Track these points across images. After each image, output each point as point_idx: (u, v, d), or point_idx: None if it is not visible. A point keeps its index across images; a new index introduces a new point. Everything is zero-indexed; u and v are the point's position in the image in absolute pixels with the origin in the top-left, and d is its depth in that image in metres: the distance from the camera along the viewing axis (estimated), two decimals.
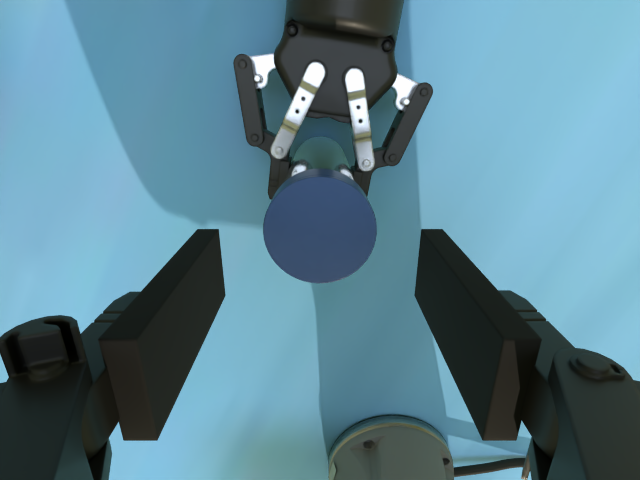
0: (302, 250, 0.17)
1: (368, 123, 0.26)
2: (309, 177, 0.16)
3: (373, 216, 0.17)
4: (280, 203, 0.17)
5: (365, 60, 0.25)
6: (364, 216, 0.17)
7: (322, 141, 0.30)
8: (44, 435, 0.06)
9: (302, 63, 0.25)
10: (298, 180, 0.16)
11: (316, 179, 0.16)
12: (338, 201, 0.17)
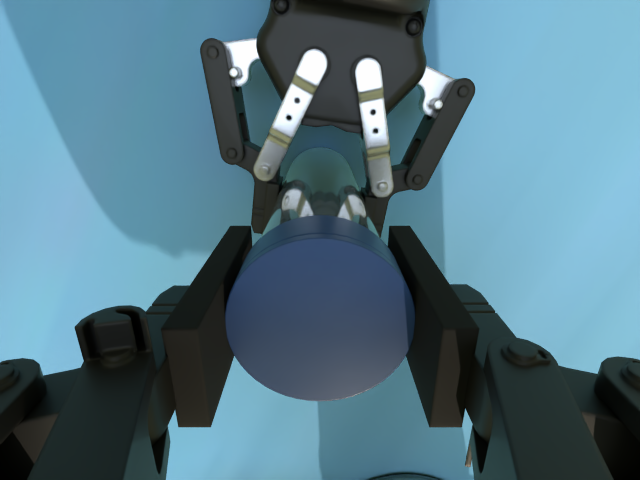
0: (291, 353, 0.10)
1: (386, 134, 0.19)
2: (302, 239, 0.09)
3: (411, 302, 0.10)
4: (252, 281, 0.10)
5: (383, 47, 0.18)
6: (396, 301, 0.10)
7: (323, 155, 0.23)
8: (116, 420, 0.06)
9: (295, 51, 0.18)
10: (282, 243, 0.09)
11: (314, 243, 0.09)
12: (352, 278, 0.10)
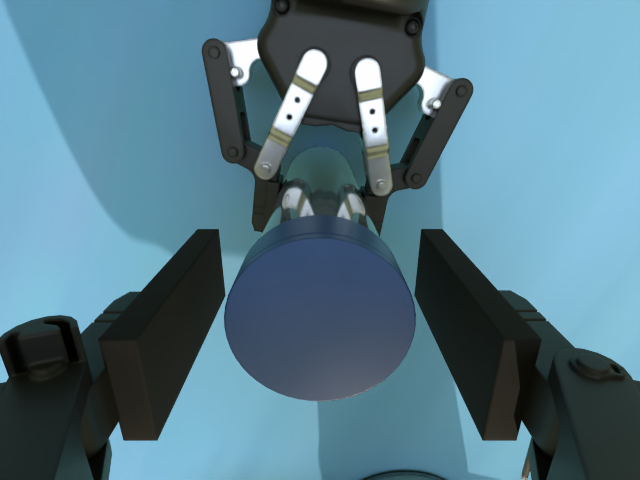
0: (343, 357, 0.11)
1: (385, 133, 0.19)
2: (225, 320, 0.10)
3: (311, 240, 0.09)
4: (257, 368, 0.11)
5: (382, 47, 0.18)
6: (308, 254, 0.09)
7: (323, 154, 0.23)
8: (44, 435, 0.06)
9: (296, 51, 0.18)
10: (227, 335, 0.10)
11: (228, 313, 0.10)
12: (271, 290, 0.10)
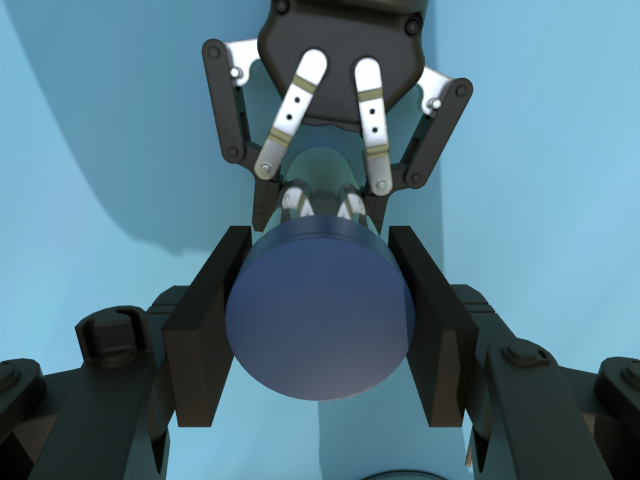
0: (343, 357, 0.11)
1: (385, 133, 0.19)
2: (225, 320, 0.10)
3: (311, 240, 0.09)
4: (258, 368, 0.11)
5: (382, 47, 0.18)
6: (308, 254, 0.09)
7: (323, 154, 0.23)
8: (116, 420, 0.06)
9: (296, 51, 0.18)
10: (228, 335, 0.10)
11: (228, 313, 0.10)
12: (271, 289, 0.10)
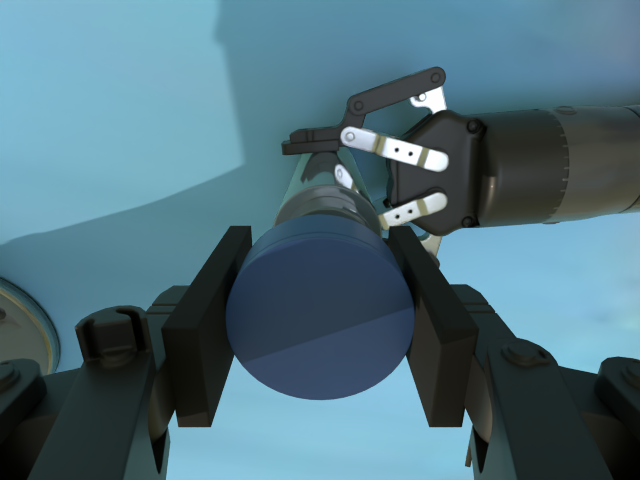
0: (343, 356, 0.11)
1: (396, 224, 0.25)
2: None
3: (311, 240, 0.09)
4: (258, 367, 0.11)
5: (452, 205, 0.25)
6: (308, 254, 0.09)
7: None
8: (116, 420, 0.06)
9: (443, 144, 0.24)
10: (228, 335, 0.10)
11: (229, 313, 0.10)
12: (272, 289, 0.10)
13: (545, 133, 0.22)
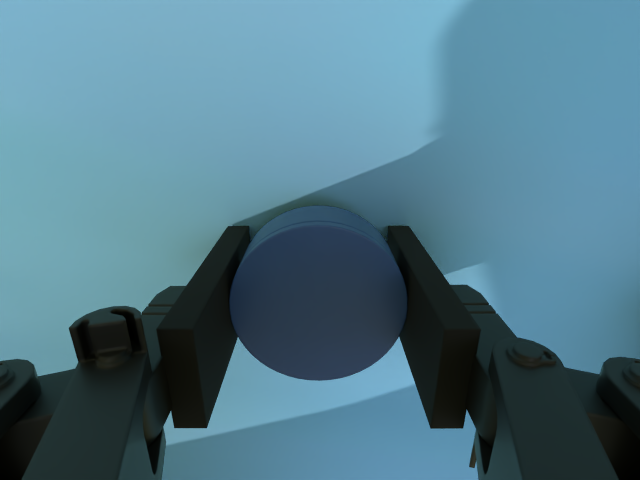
0: (340, 338, 0.11)
1: None
2: (229, 304, 0.11)
3: (310, 228, 0.10)
4: (260, 349, 0.11)
5: None
6: (307, 241, 0.10)
7: None
8: (111, 421, 0.06)
9: None
10: (232, 318, 0.11)
11: (233, 297, 0.11)
12: (273, 274, 0.10)
13: None
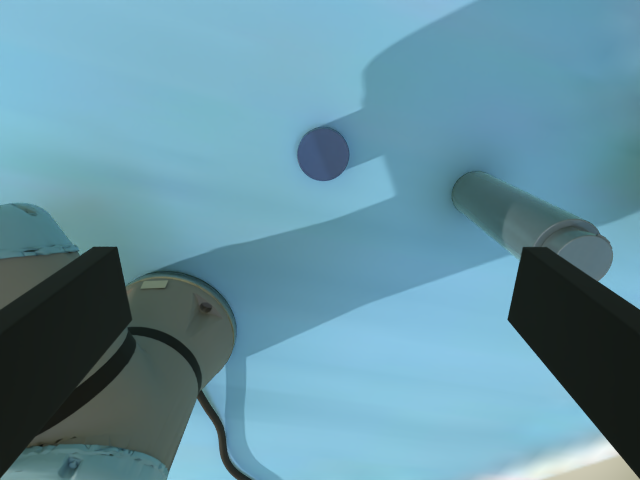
0: (329, 165, 0.38)
1: None
2: None
3: (321, 129, 0.37)
4: (305, 169, 0.38)
5: None
6: (320, 133, 0.37)
7: None
8: None
9: None
10: None
11: (298, 151, 0.37)
12: (310, 143, 0.37)
13: None
